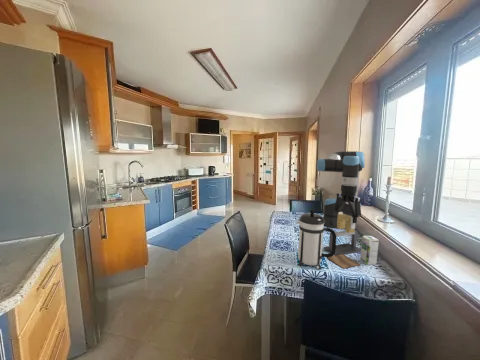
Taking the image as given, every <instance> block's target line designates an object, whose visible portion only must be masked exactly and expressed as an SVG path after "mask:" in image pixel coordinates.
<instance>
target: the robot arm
mask: <svg viewBox="0 0 480 360" xmlns="http://www.w3.org/2000/svg"><path fill="white" fill-rule="evenodd" d="M365 163H366V162H365V154H364V152H363V151H357V150H356V151H354V150H353V151H349V150H348V151H344V150H343V151H335V152H333V153H330V154H328V155H327V157H326V158H318V160H316V169H317V170H316V171H318V172H330V173H331V172H333V173H341V174H342V175H341V185H340V192H338V193H336V197H331V198H330V197H329V198H326V199H325V200H324V204H323V205H324V206H323V207H324V208H323V216H322V217H323V219H324V220H325V223H324V227H325V226H326V227H325V228H329V227H330V229H338V228H337V220H338V214H346V215H349V216H351V223H350V229H355V230H356V224H357V222H358V218H360V217H361V218H362V210H361V209H362V208H361V207H362V203H361V201H362V198H361V197H358V193H359V183H360V172H361V171H363V169H365V167H366V165H365Z"/></svg>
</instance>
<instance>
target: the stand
mask: <svg viewBox="0 0 480 360" xmlns="http://www.w3.org/2000/svg"><path fill="white" fill-rule="evenodd" d="M334 232H335V234H336V238H337V237H343V236H351V241H350V243H349V242H346V243H342V244H341V243H340V244H336V250H335V254H334V255H333V256H335V255H340V254H343V255H345V256H346V255H351V254H355V253H359V252H360V253H361V248H359V247H357V237H358V230H356V229H355V231H354V232H352V233H348V232H346V230H342V231H334ZM332 239H333V236H332V233H331V232H329V240H328V241H329V242H328V245H327V246H324V247H323V250H325V251H327V252H328V253H330V252H331V251H332Z"/></svg>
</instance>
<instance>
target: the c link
mask: <svg viewBox="0 0 480 360" xmlns="http://www.w3.org/2000/svg"><path fill="white" fill-rule="evenodd" d="M350 223H351V216H349V215H346V214H338V220H337V228H336V229H339V230H343V229H345V231H346V232H348V233H352V232H354V231H355V230H356V228H355V229H350Z"/></svg>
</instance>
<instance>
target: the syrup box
mask: <svg viewBox="0 0 480 360" xmlns="http://www.w3.org/2000/svg"><path fill="white" fill-rule="evenodd" d="M361 238H362V239H361V247H360V249H361V252H360V258H359V260H360V261H361V262H362V263H364V264H365V265H366V266H375V265H377V261H378V260H377V259H378V251H379V245H380V244H379V241H380V239H378V238H377V237H376V238H375V237H374V236H372V235H362V237H361Z"/></svg>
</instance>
